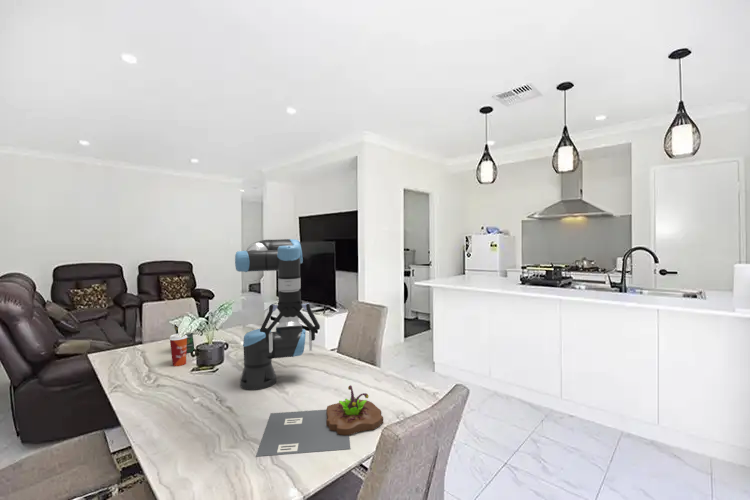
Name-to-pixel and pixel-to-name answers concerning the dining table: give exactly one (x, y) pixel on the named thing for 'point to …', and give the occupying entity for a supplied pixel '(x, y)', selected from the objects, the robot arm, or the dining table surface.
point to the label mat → (300, 434)
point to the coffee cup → (178, 349)
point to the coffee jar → (188, 341)
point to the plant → (353, 415)
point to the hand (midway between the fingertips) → (291, 350)
